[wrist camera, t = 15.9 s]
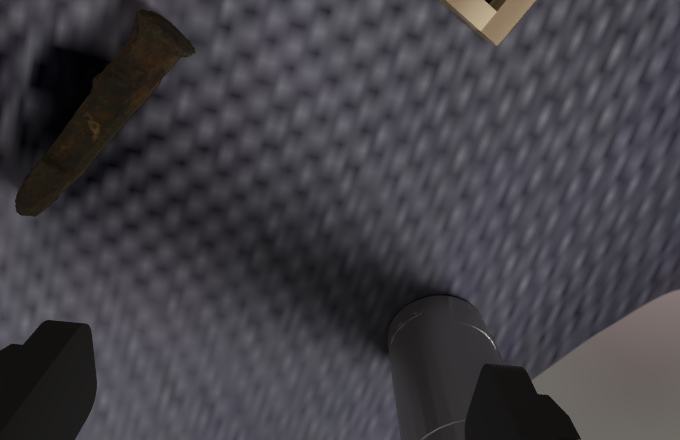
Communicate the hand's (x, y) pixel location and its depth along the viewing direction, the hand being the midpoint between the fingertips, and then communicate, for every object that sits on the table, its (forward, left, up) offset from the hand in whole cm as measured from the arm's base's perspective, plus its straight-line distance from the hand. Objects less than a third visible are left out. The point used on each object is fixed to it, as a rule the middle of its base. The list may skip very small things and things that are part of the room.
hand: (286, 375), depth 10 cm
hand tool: (+11, +12, -31) cm, 35 cm away
